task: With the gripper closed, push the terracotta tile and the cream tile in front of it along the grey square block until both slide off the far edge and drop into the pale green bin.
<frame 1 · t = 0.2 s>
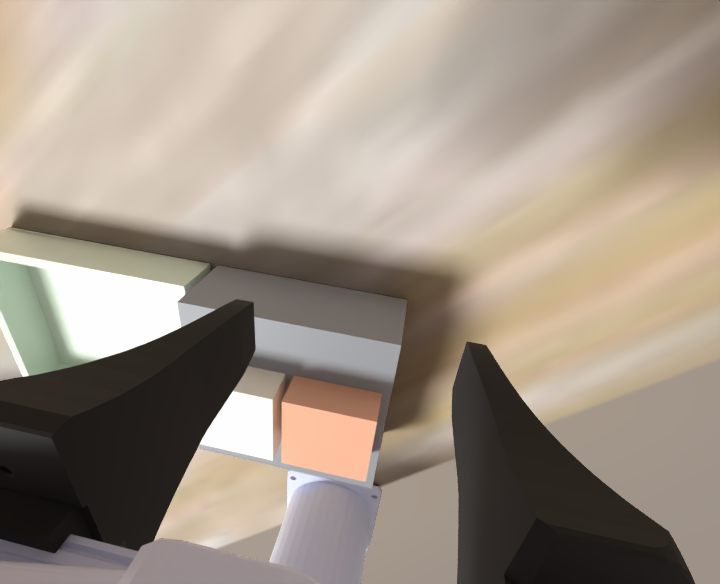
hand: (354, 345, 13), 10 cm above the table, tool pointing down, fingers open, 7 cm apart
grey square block: (306, 357, 27), on the table
green bin: (126, 320, 28), on the table
cream tile: (244, 396, 24), point 4 cm above the table, touching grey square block
terracotta tile: (334, 415, 23), point 4 cm above the table, touching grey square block
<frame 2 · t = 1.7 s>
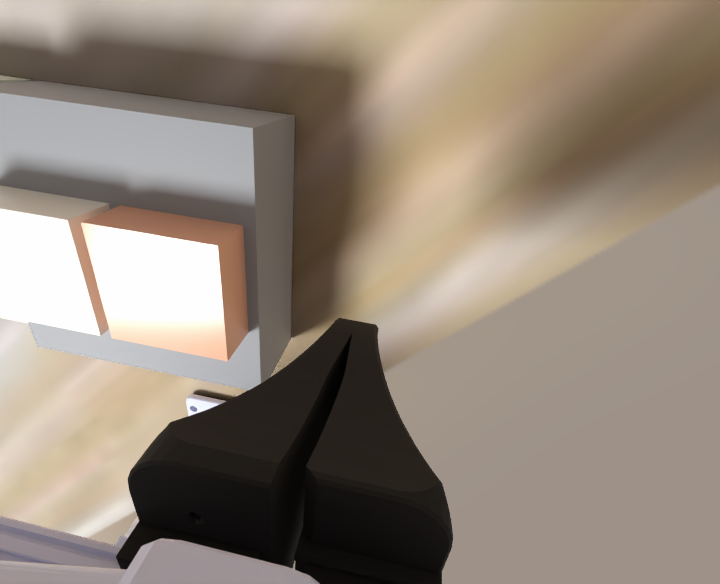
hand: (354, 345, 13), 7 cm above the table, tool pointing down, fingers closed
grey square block: (181, 225, 20), on the table
cream tile: (67, 251, 17), point 4 cm above the table, touching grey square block
terracotta tile: (188, 272, 16), point 4 cm above the table, touching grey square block
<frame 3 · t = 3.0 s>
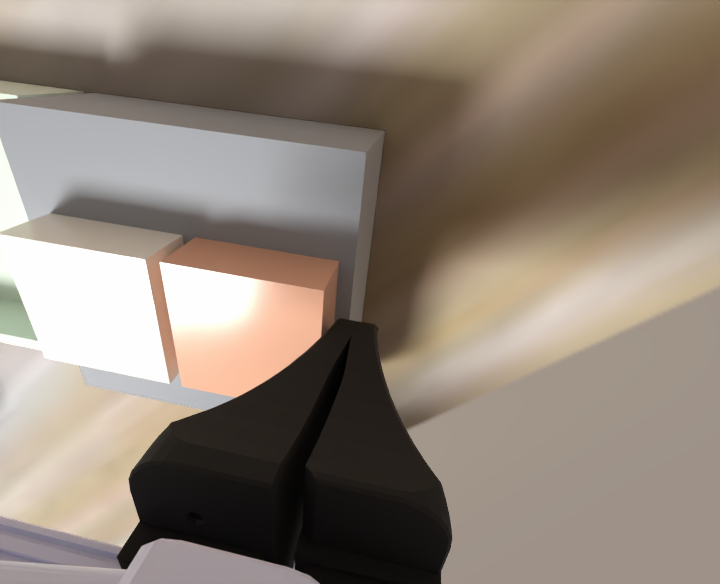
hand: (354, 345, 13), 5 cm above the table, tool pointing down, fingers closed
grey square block: (242, 249, 19), on the table
cream tile: (129, 286, 15), point 4 cm above the table, touching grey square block
terracotta tile: (267, 311, 14), point 5 cm above the table, touching gripper, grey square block
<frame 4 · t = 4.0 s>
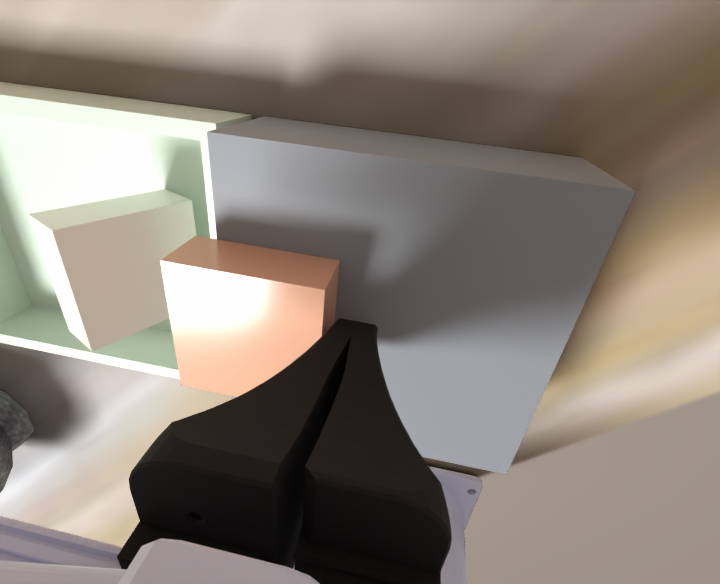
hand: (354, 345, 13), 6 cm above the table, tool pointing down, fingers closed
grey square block: (394, 276, 18), on the table
green bin: (120, 230, 19), on the table
cream tile: (143, 273, 16), point 4 cm above the table, tilted 117°, touching green bin
terracotta tile: (267, 310, 14), point 5 cm above the table, touching gripper
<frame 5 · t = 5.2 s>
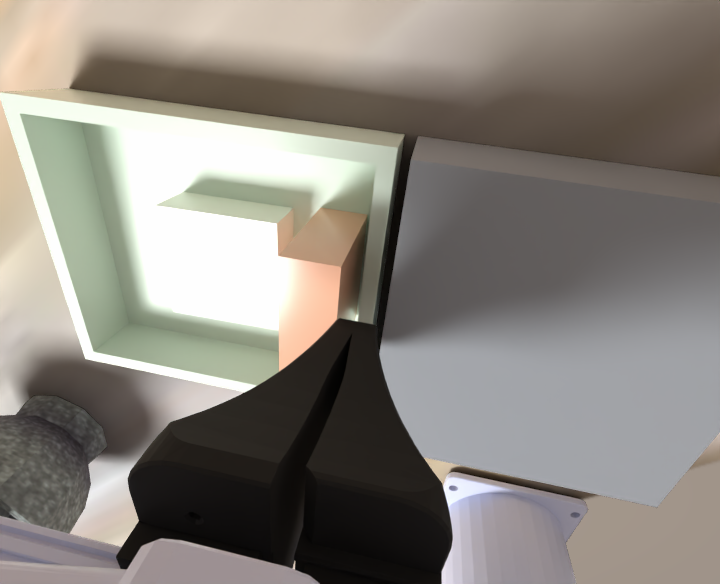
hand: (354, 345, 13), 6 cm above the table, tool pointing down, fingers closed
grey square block: (530, 299, 17), on the table
green bin: (237, 248, 19), on the table
cream tile: (220, 271, 16), point 2 cm above the table, tilted 180°, touching green bin
mortar and pestle: (72, 420, 28), on the table
terracotta tile: (350, 296, 15), point 3 cm above the table, tilted 90°, touching green bin
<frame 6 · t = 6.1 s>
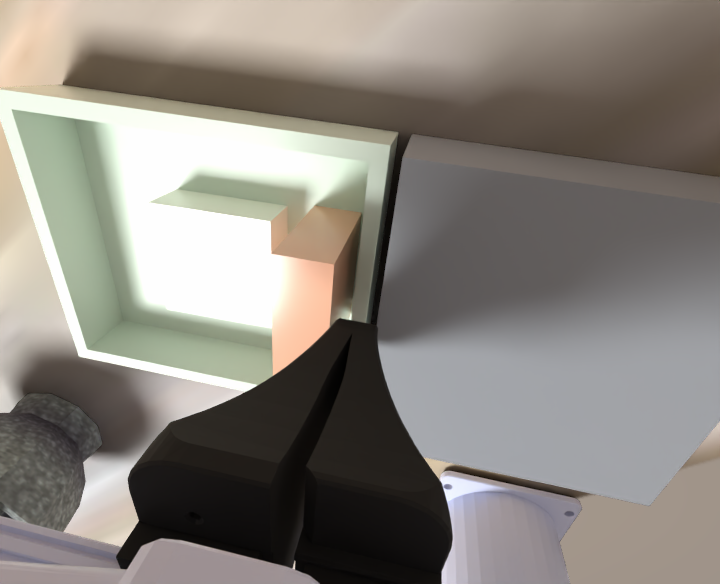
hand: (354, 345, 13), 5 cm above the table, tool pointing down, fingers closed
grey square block: (524, 297, 17), on the table
green bin: (231, 246, 19), on the table
cream tile: (214, 269, 16), point 2 cm above the table, tilted 180°, touching green bin
mortar and pestle: (67, 418, 28), on the table
terracotta tile: (344, 294, 15), point 3 cm above the table, tilted 90°, touching green bin
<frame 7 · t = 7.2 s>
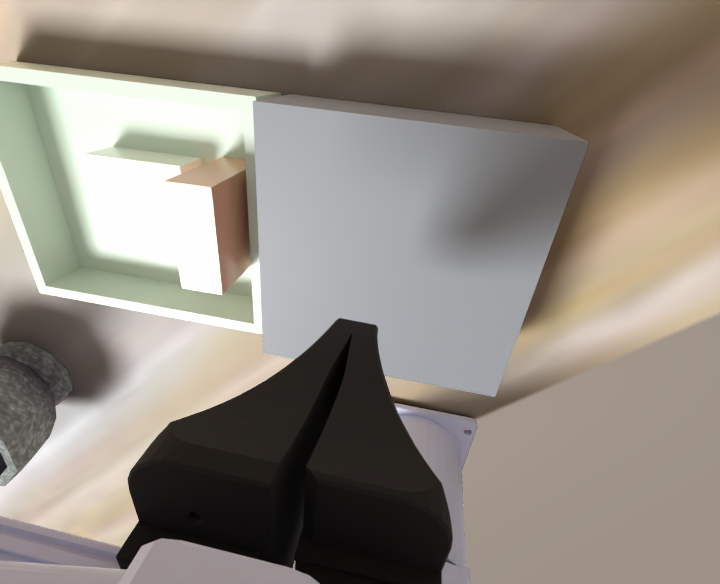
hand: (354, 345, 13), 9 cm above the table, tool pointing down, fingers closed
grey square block: (400, 232, 21), on the table
green bin: (163, 196, 22), on the table
cream tile: (141, 210, 20), point 2 cm above the table, tilted 180°, touching green bin
mortar and pestle: (41, 365, 32), on the table
terracotta tile: (242, 225, 19), point 3 cm above the table, tilted 90°, touching green bin
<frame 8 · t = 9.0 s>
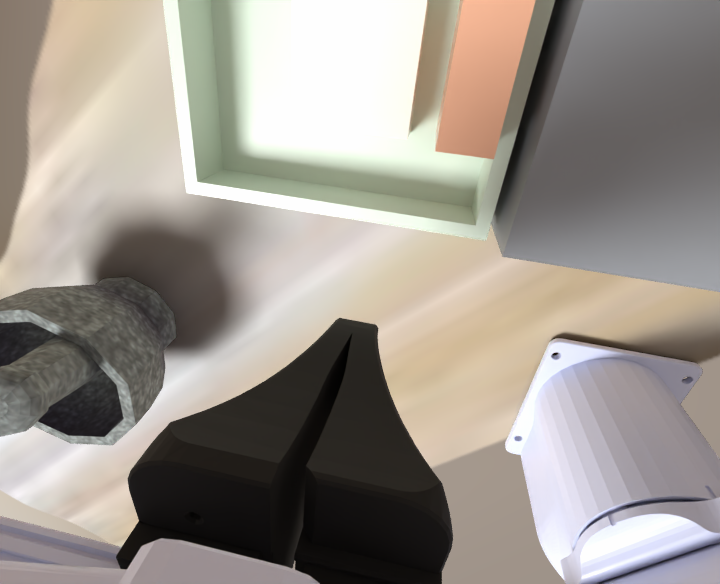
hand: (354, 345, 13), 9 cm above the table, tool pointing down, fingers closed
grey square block: (677, 103, 16), on the table
green bin: (355, 64, 17), on the table
cream tile: (353, 64, 15), point 2 cm above the table, tilted 180°, touching green bin
mortar and pestle: (141, 309, 27), on the table
terracotta tile: (504, 74, 14), point 3 cm above the table, tilted 90°, touching green bin
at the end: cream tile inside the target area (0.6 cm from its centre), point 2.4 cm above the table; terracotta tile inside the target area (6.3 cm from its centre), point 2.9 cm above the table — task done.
